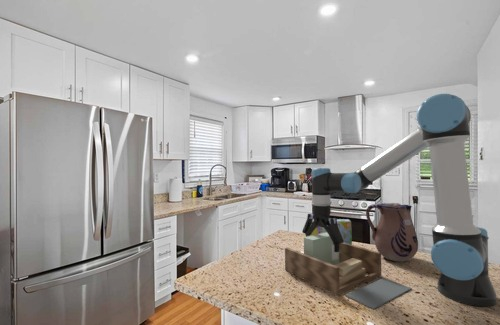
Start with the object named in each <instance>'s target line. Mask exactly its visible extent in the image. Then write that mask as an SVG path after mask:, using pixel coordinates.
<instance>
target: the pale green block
mask: <svg viewBox="0 0 500 325" xmlns="http://www.w3.org/2000/svg"><path fill="white" fill-rule="evenodd" d="M332 244H333V241H332V240H331V238H330V236H329V234H328V233H327V232H326V233H321V234H317V235H312V236H308V237H306V236H305V237H303V254H306V255H309V256H311V257H314V258H316V259H319V260H322V261H324V262H327V263H329V264H332V265H336V264H339V263H340V262H339V252H338V259H337V260H334V261H333V260H332Z"/></svg>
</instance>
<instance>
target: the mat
mask: <svg viewBox="0 0 500 325" xmlns="http://www.w3.org/2000/svg"><path fill="white" fill-rule="evenodd" d="M411 290H412V287H410V286H407V285H403V284H401V283H398V282H396V281H393V280H390V279H387V278H385V277H383V278H380V279H379V280H376V281H374V282H372V283H368V284H367V285H365V286H362V287H360V288H357V289H355V290H353V291H351V292H349V293H346V294H344V295H345V297H346V298H348V299H351V300H353V301H355V302H357V303H359V304H361V305H363V306H365V307H368V308H369V309H371V310H376V309H378V308H379V307H382V306H383V305H384V304H387V303H389V302H390V301H392V300H394V299H396V298H398V297H400V296H403V294H406V293H408V292H409V291H411Z"/></svg>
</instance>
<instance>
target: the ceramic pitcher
mask: <svg viewBox="0 0 500 325" xmlns="http://www.w3.org/2000/svg"><path fill="white" fill-rule="evenodd" d="M372 209H377V210H379V212H380V217H379V220H378V222H377V225H376V227H375V225H374V223H373V221H372V220H371V216H370V212H371V211H372ZM411 212H412V205H409V204H401V203H399V202H397V203H396V202H390V203H389V202H386V203H385V202H384V203H379V204H378V203H375V204H374V203H372V204H370V205H369V206H367V208H366V210H365V217H366V221H367V222H368V225H369V226H370V229H371V231H372V235H371V237H372V240H373V241H374V245H375V247H376V248H375V249H377V252H380V253H381V257H383V258H384V259H386V260H389V261H393V262H408V261H410V260H412V258H414V257H415V255H417V252H418V249H419V240H418V236H417V232H416V229H415V226H414V222H413V220H412V219H413V218H412V214H411Z"/></svg>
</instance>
